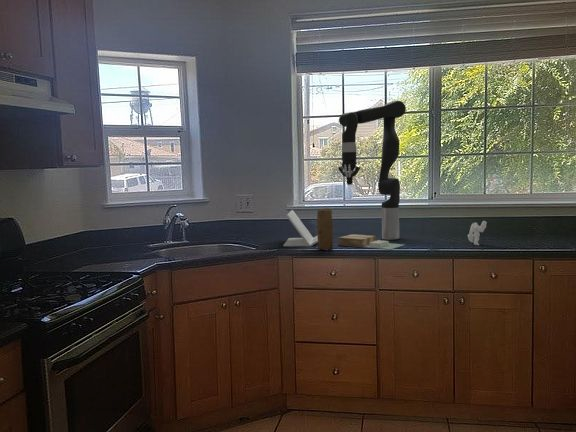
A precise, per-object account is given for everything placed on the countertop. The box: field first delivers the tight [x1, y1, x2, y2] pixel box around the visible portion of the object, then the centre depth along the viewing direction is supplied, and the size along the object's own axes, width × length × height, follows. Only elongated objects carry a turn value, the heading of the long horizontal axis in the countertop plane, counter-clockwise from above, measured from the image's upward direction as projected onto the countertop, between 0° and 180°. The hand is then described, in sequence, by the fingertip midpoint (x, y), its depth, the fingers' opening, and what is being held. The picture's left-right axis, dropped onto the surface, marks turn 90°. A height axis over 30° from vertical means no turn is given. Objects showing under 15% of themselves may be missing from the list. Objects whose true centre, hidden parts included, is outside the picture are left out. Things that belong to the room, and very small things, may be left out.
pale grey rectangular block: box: [369, 239, 390, 248], centre depth 263 cm, size 9×6×2 cm, turn 141°
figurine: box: [467, 220, 488, 246], centre depth 260 cm, size 10×5×12 cm, turn 33°
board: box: [337, 233, 377, 248], centre depth 271 cm, size 14×14×4 cm
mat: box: [362, 242, 405, 251], centre depth 263 cm, size 15×16×1 cm
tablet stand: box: [283, 209, 318, 247], centre depth 282 cm, size 18×25×17 cm
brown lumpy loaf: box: [316, 208, 334, 251], centre depth 260 cm, size 11×8×20 cm
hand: (349, 184), depth 274 cm, fingers closed
